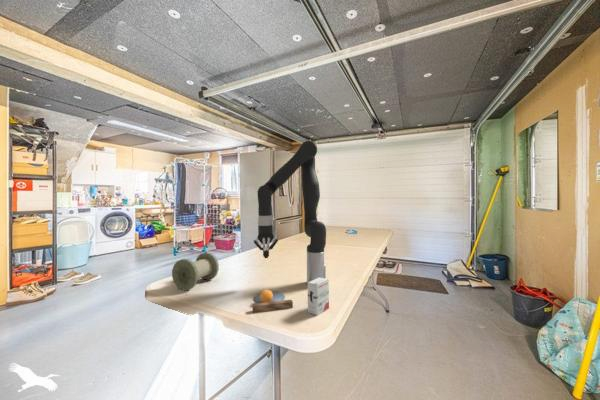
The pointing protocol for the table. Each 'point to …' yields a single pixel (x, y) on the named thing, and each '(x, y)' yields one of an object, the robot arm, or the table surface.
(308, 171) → the robot arm
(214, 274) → the spool
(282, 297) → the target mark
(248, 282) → the table surface
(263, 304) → the brown square bar
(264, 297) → the ball
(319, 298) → the ink box
